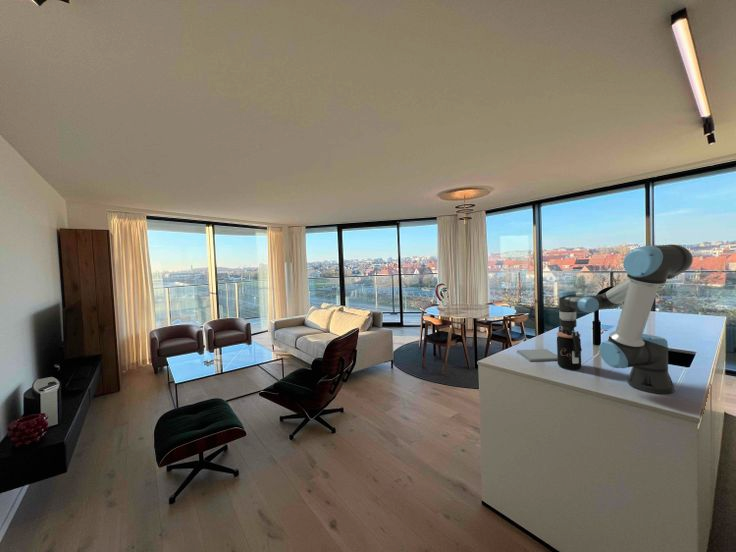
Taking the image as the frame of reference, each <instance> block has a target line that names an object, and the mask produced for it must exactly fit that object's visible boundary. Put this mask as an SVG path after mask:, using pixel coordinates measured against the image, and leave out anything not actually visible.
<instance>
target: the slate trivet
mask: <svg viewBox="0 0 736 552" xmlns="http://www.w3.org/2000/svg"><path fill="white" fill-rule="evenodd" d="M516 353H517V354H519V356H521V357H523V358H524V359H525V360H527V361H529V362H530V363H533V361H535V362H553V361H554V360H558V359H557V354H555V353H553V352H552V351H550V350H549V349H547V348H544V349H543V348H542V349H541V348H540V349H539V348H537V349H518V350H516ZM554 362H555V361H554Z"/></svg>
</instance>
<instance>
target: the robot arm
mask: <svg viewBox="0 0 736 552" xmlns="http://www.w3.org/2000/svg"><path fill="white" fill-rule="evenodd" d="M693 260H694V258H693V255H692V252H691V251H690V250H689V249H687V247H685V246H682V245H679V244H663V245H644V246H639V247H635V248H633V249H631V250H630V251H628V253H627V254H626V255H625V257H624V258H623V263H622V265H623V266H622V267H623V268H624V271H625V272H626V273H627V274H626V279H624V280H623V281H621V282H620V283H618V284H616V285H615V286H613V287H612V288H610V289H609V290H607V291H606V292H604V293H602V294H594V295H593V294H592V295H591V294H590V295H577V293H576V291H575V290H570V289H564V290H563V289H562V290H559V292H558V293H559V294H558V302H559V303H558V307H559V308H558V309H559V316H558V317H559V325H558V332H562V333H565V334H567V335H572V336H573V341H574V343H572V348H573V350H572V363H573V364H574V363H579V351H581V352H582V350H583V349H582V346H581V344H582V343H581V344H580V340H581V339H580V340H579V334H580V333H579V331H576V330H575V328H576V327H577V323H578V322H577V311H579V312H584V313H594V312H596V311H600V310H613V309H617V308H619V307H621V304H622V302H623V305H622V308H621V311H620V315H619V318H618V320H617V326H616V329H615V331H611V332H610V333H609V336H608V339H607V340H605V341H603V342H601V343H600V344H599V346H598V351H599V355H600V357H601V359H602V361H603V362H604V363H605V364H607V365H608V366H610V367H611V368H614V369H626V368H631V370H630V371H629V374H628V376H627V384H628V385H629V386H630V387H632V388H634V389H637V390H639V391H643V392H647V393H652V394H653V393H654V394H658V395H659V394H663V395H665V394H667V395H668V394H673V393H674V392H675V385H674V383H673V380H672V378H671V375H670V374H669V344H668V340H667V339H666V338H664V337H661V336H658V335H653V334H645V333H644V331H645V328H646V326H647V322H648V320H649V317H650V314H651V310H652V307H653V304H654V302H655V298H656V297H657V293H658V290H659V287H660V286H662V285H664V284H666V282H667V280H671V279H673V278H675V277H677V276H679V275H681V274H683V273H684V272H686V271H687V270H688V269H689V268H690V267H691V266H692V264H693Z"/></svg>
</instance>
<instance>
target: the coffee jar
mask: <svg viewBox="0 0 736 552" xmlns="http://www.w3.org/2000/svg"><path fill="white" fill-rule="evenodd" d="M556 336H557V337H556V349H557V351H556V353H557V354H556V355H557V359H558V361H557V365H558V366H559V367H560V368H561V369H565V370H569V371H570V370H571V371H576V370H580V369H581V368H582V351H579V363H574V364H573V363H572V350H573V348H572V343H574V341H573V336H572V335H567V334H565V333H562V332H559V331H558V332H556ZM579 340H580V344H582V343H581V341H582V340H581V334H580V333H579Z"/></svg>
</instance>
